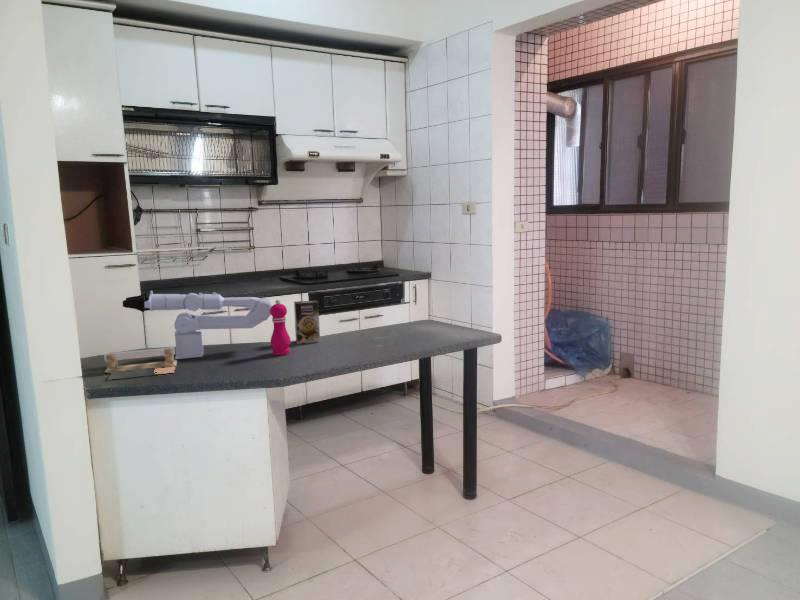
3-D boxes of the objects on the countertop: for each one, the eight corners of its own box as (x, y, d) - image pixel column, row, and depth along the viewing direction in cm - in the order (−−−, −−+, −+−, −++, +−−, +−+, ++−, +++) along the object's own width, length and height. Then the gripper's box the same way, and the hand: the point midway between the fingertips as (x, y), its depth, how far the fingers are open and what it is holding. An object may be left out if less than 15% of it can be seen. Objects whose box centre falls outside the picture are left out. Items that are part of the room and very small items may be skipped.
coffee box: (297, 344, 228) (294, 303, 226) (295, 341, 235) (293, 301, 232) (320, 342, 231) (318, 301, 228) (318, 339, 237) (316, 299, 234)
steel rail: (175, 353, 204) (174, 346, 203) (175, 354, 201) (174, 348, 201) (105, 359, 197) (105, 353, 197) (104, 361, 195) (103, 354, 195)
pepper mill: (267, 355, 213) (263, 300, 210) (279, 350, 219) (276, 297, 216) (282, 356, 209) (279, 301, 206) (295, 352, 216) (292, 298, 213)
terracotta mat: (175, 367, 199) (175, 366, 199) (173, 373, 192) (173, 372, 192) (111, 374, 194) (110, 372, 194) (106, 380, 186) (106, 379, 186)
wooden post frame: (176, 362, 206) (175, 346, 205) (175, 367, 200) (174, 350, 199) (108, 369, 200) (106, 352, 199) (104, 374, 194) (102, 356, 193)
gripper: (167, 288, 217) (127, 288, 213) (163, 293, 203) (120, 293, 199) (167, 307, 218) (127, 307, 214) (164, 313, 204) (121, 313, 200)
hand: (124, 302), depth 207 cm, fingers open, 7 cm apart
